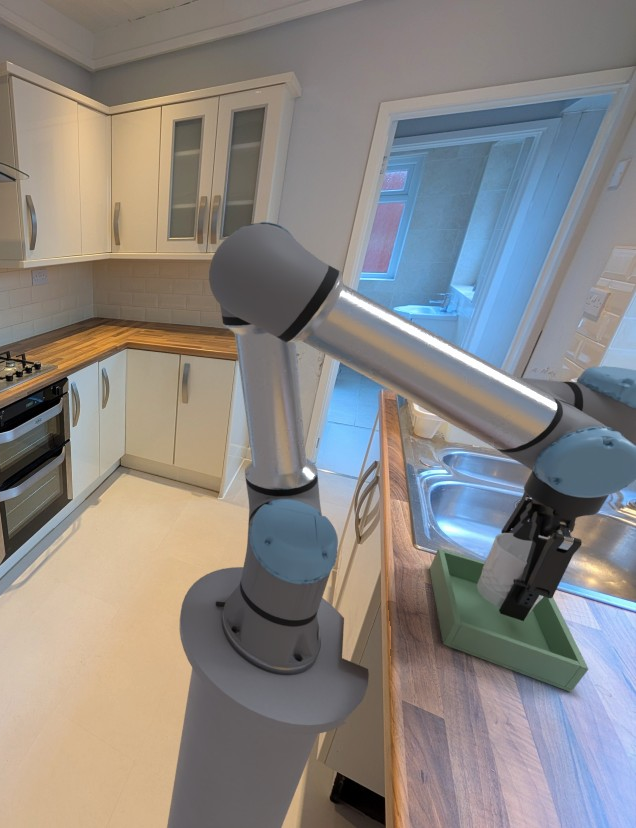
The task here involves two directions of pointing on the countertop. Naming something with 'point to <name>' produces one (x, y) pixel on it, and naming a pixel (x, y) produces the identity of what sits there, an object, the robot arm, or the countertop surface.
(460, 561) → the tray
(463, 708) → the countertop surface
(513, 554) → the white cup
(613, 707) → the countertop surface
